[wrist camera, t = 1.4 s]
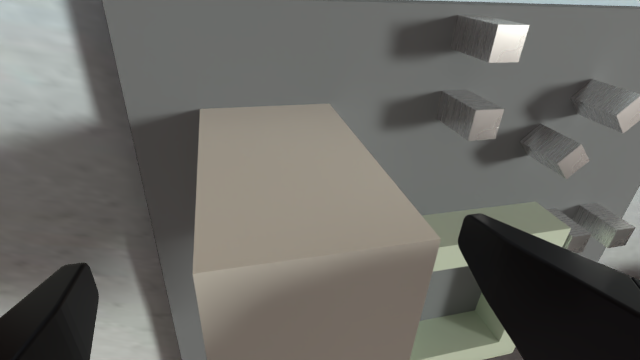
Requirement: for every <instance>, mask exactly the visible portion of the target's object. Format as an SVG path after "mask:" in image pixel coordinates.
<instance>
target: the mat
mask: <svg viewBox="0 0 640 360" xmlns="http://www.w3.org/2000/svg"><path fill="white" fill-rule="evenodd" d="M102 2H103V6H104V11H105V15H106V20H107V25H108V29H109V34H110V38H111V43H112V47H113V52H114V56H115V61H116V65H117V70H118V74H119V79H120V83H121V88H122V92H123V97H124V101H125V106H126V110H127V115H128V119H129V124H130V128H131V133H132V137H133V142H134V146H135V151H136V155H137V160H138V165H139V169H140V174H141V178H142V183H143V187H144V192H145V196H146V201H147V205H148V210H149V214H150V219H151V223H152V228H153V232H154V237H155V241H156V246H157V250H158V255H159V259H160V264H161V268H162V273H163V277H164V282H165V286H166V291H167V296H168V300H169V305H170V309H171V314H172V318H173V323H174V327H175V332H176V336H177V341H178V345H179V350H180V354H181V359H182V360H207V357H206V351H205V345H204V339H203V333H202V327H201V321H200V315H199V309H198V303H197V297H196V292H195V286H194V280H193V252H194V230H195V208H196V186H197V164H198V142H199V120H200V109H210V108H234V107H259V106H283V105H307V104H330V105H331V106H332V108H333V109H334V110H335V111H336V112H337V114H338V115H339V116H340V117H341V118H342V120H343V121H344V122H345V123H346V125H347V126H348V127H349V128H350V129H351V131H352V132H353V133H354V134H355V135H356V137H357V138H358V139H359V140H360V141H361V143H362V144H363V145H364V146H365V148H366V149H367V150H368V151H369V152H370V154H371V155H372V156H373V157H374V158H375V160H376V161H377V162H378V163H379V165H380V166H381V167H382V168H383V169H384V171H385V172H386V173H387V174H388V175H389V177H390V178H391V179H392V180H393V181H394V183H395V184H396V185H397V186H398V188H399V189H400V190H401V191H402V192H403V194H404V195H405V196H406V197H407V198H408V200H409V201H410V202H411V203H412V204H413V206H414V207H415V208H416V209H417V211H418V212H419V213H420V214H421V215H430V214H439V213H447V212H455V211H463V210H471V209H480V208H488V207H496V206H504V205H512V204H521V203H529V202H537V203H538V204H540V205H541V206H542V207H544V208H545V209H550V208H556V209H558V210H559V211H560V212H562V213H563V214H565V215H566V216H567V217H569V218H570V219H572V220H573V218H574V215H575V213H576V211H577V209H578V207H579V205H581V204H589V203H598V204H599V205H601V206H602V207H604V208H606V209H607V210H609V211H610V212H612V213H613V214H615V215H617V216H618V217H620V218H621V219H622V217H623V215H624V213H625V212H626V210H627V208H628V206H629V204H630V202H631V201H632V199H633V197H634V195H635V193H636V191H637V190H638V188H639V186H640V121H638V122H637V123H636V124H635V125H633V126H632V127H631V128H630V129H628V130H627V131H626V132H625V133H620V132H618V131H616V130H613V129H611V128H609V127H606V126H604V125H602V124H599V123H597V122H595V121H592V120H590V119H588V118H585V117H583V116H581V115H578V114H577V112H576V110H575V108H574V106H573V104H572V102H571V99H570V97H571V96H572V95H573V94H574V93H575V92H577V91H578V90H579V89H580V88H581V87H582V86H584V85H585V84H586V83H587V82H588V81H589V80H591V79H594V80H597V81H600V82H604V83H607V84H610V85H613V86H616V87H619V88H622V89H625V90H629V91H632V92H635V93H638V94H640V7H635V6H598V5H562V4H526V3H490V2H454V1H418V0H102ZM457 15H485V16H490V17H494V18H499V19H504V20H508V21H513V22H517V23H522V24H527V25H529V29H528V32H527V35H526V39H525V42H524V45H523V49H522V52H521V55H520V59H519V62H506V63H488V62H485V61H482V60H480V59H477V58H475V57H472V56H469V55H467V54H464V53H461V52H459V51H456V50H454V49H451V48H450V47H451V43H452V38H453V33H454V28H455V24H456V19H457ZM443 90H469V91H471V92H472V93H474V94H476V95H478V96H480V97H482V98H484V99H486V100H488V101H490V102H492V103H494V104H496V105H498V106H500V107H502V108H503V109H504V112H503V115H502V118H501V122H500V125H499V128H498V132H497V135H496V138H495V139H488V140H474V141H467V140H466V139H465V138H463V137H462V136H460V135H459V134H457V133H456V132H455V131H453V130H452V129H450V128H449V127H448V126H446V125H445V124H443V123H442V122H441V121H439V120H438V119H436V114H437V110H438V105H439V100H440V95H441V91H443ZM539 123H541V124H543V125H545V126H547V127H549V128H551V129H553V130H555V131H556V132H558V133H560V134H562V135H564V136H566V137H568V138H570V139H572V140H574V141H576V142H578V143H580V144H582V146H583V148H584V150H585V152H586V154H587V156H588V158H589V160H590V161H589V162H587V163H586V164H585V165H584V166H582V167H581V168H580V169H579V170H578V171H576V172H575V173H574V174H573V175H571V176H570V177H569V178H568V179H565V178H564V177H562V176H560V175H559V174H557V173H556V172H554V171H552V170H551V169H549V168H548V167H546V166H544V165H543V164H541V163H540V162H538V161H536V160H535V159H533V158H532V157H530V156H528V154H527V153H526V151H525V150H524V148H523V147H522V145H521V143H520V142H519V140H520V139H521V138H523V137H524V136H525V135H526V134H527V133H528V132H530V131H531V130H532V129H533V128H534V127H535V126H537V125H538V124H539ZM605 248H606V247H605V246H604V245H603V244H601V243H600V242H599V241H597V240H596V239H595V238H593V237H592V236H590V238H589V240H588V242H587V244H586V246H585V248H584V250H583V252H581V253H577V254H579V255H581V256H584V257H586V258H589V259H591V260H593V261H596V262H598V261H599V259H600V257H601V256H602V254H603V252H604V250H605ZM480 295H481V290H480V288H479V286H478V284H477V282H476V281H475V279H474V277H473V275H472V273H471V271H470V269H469V267H468V266H465V267H458V268H452V269H446V270H440V271H434V272H432V276H431V280H430V283H429V287H428V291H427V295H426V299H425V303H424V306H423V310H422V314H421V318H420V321H423V320H428V319H433V318H438V317H443V316H448V315H454V314H459V313H464V312H469V311H474V310H475V309H476V306H477V303H478V301H479V298H480Z"/></svg>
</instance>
